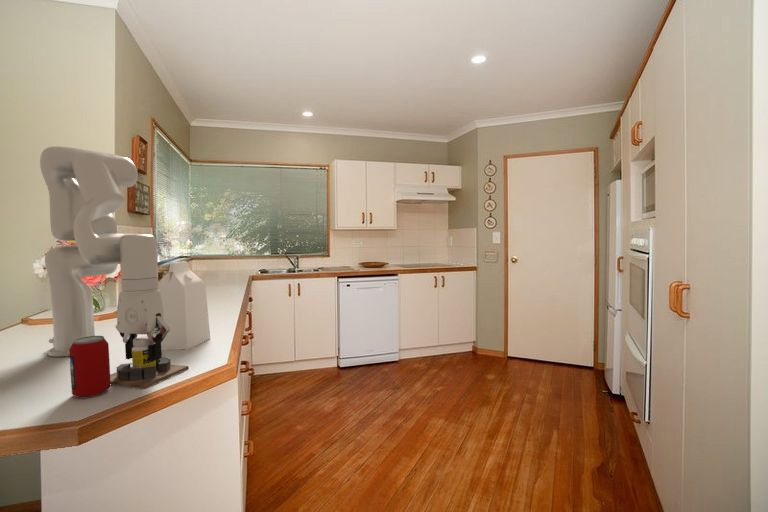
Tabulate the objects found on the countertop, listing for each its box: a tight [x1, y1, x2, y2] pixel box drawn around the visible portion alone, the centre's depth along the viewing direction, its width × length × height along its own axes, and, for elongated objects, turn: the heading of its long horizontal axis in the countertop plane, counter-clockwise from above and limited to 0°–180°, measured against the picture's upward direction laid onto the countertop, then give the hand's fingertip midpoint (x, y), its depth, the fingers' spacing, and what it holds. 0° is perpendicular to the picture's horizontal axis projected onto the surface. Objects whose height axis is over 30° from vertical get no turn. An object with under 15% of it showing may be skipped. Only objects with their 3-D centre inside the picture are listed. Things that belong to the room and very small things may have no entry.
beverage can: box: [69, 335, 111, 399], centre depth 83 cm, size 7×7×12 cm
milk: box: [153, 261, 211, 350], centre depth 121 cm, size 12×12×26 cm
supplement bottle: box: [131, 335, 156, 369], centre depth 93 cm, size 5×5×8 cm
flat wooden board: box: [110, 356, 190, 389], centre depth 93 cm, size 14×13×3 cm
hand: (143, 358), depth 93 cm, fingers open, 6 cm apart
